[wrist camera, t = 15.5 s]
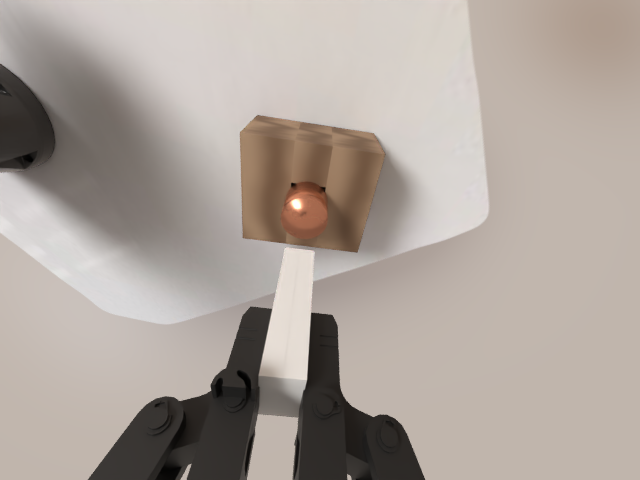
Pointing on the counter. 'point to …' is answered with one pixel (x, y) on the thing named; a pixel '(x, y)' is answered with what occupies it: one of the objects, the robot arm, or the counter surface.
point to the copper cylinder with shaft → (305, 210)
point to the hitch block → (307, 178)
